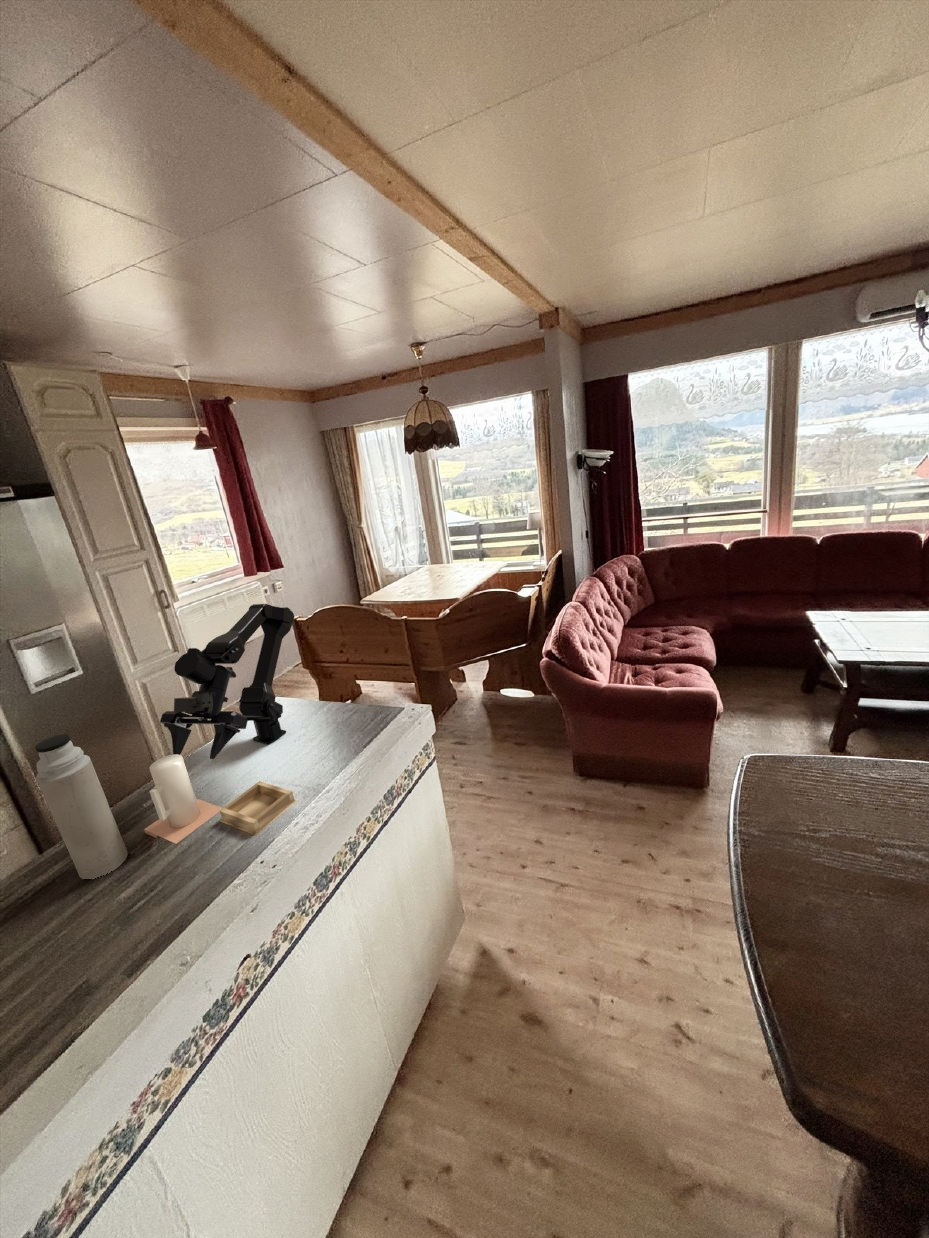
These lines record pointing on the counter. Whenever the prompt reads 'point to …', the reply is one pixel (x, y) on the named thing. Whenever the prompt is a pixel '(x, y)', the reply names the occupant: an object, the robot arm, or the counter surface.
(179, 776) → the jug
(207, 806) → the tile
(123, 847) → the thermos bottle
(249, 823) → the holder
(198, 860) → the counter surface
